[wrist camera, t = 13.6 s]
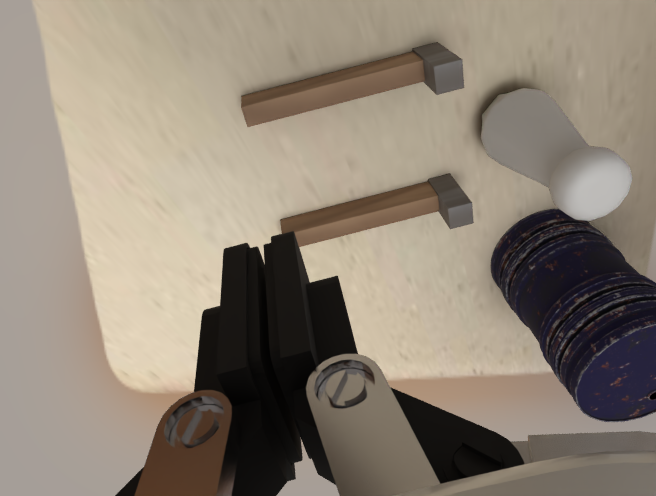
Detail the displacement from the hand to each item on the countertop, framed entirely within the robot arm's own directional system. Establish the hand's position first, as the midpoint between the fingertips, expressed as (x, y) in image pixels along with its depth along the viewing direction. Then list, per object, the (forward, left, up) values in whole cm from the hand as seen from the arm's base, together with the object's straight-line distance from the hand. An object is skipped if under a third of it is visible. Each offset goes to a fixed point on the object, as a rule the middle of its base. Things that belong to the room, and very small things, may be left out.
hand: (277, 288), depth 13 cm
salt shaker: (+10, +17, -27) cm, 34 cm away
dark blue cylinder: (+24, +20, -27) cm, 41 cm away
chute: (+9, +5, -27) cm, 29 cm away
